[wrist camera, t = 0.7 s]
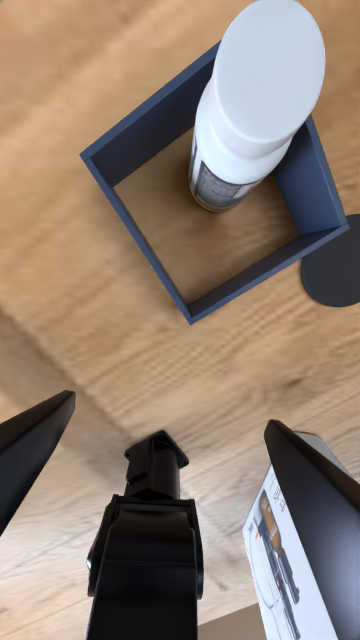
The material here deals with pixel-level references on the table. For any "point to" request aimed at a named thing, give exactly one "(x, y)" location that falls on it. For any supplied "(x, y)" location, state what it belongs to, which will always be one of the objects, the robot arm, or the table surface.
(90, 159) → the open box
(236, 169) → the pill bottle
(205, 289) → the table surface
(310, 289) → the coaster
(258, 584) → the skincare box
